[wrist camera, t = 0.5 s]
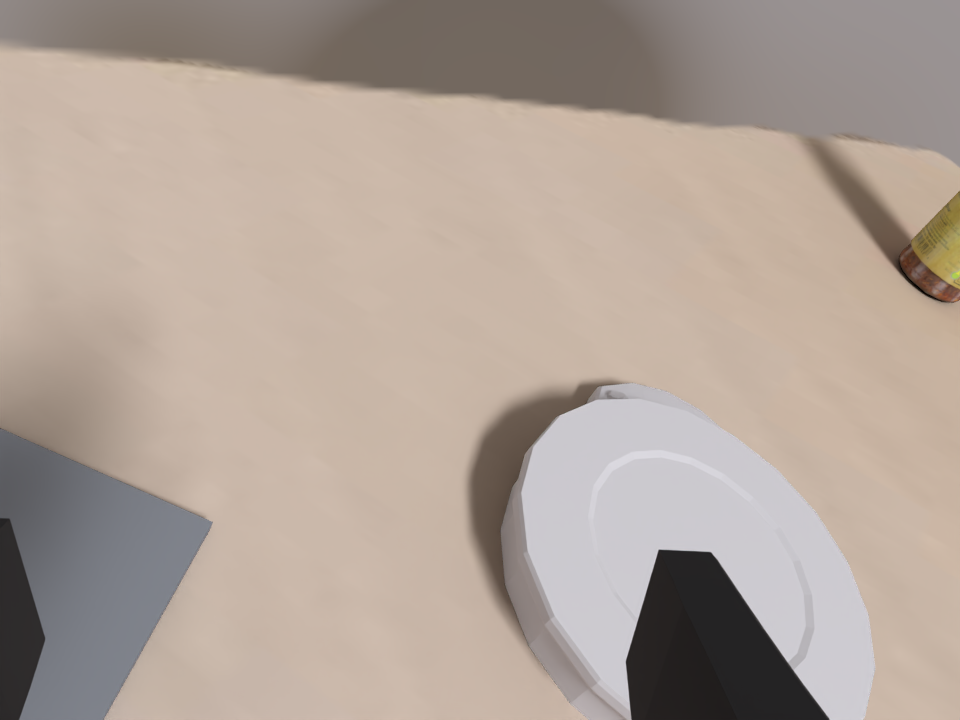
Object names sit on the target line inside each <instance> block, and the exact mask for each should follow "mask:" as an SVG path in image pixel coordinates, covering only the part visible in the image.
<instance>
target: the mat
mask: <svg viewBox="0 0 960 720" xmlns="http://www.w3.org/2000/svg"><path fill="white" fill-rule="evenodd" d="M0 518H9V519H10V521H11V524H12V527H13V531H14V534H15V538H16V541H17V544H18V548H19V551H20V554H21V558H22V561H23V565H24V568H25V571H26V575H27V578H28V581H29V585H30V588H31V592H32V595H33V598H34V602H35V605H36V608H37V612H38V615H39V618H40V622H41V625H42V629H43V632H44V635H45V643H44V646H43V649H42V652H41V655H40V659H39V662H38V665H37V668H36V671H35V674H34V678H33V681H32V684H31V687H30V690H29V693H28V696H27V699H26V702H25V704H24V707H23V710H22V713H21V716H20V719H19V720H104V718H105V716H106V714H107V713H108V711H109V709H110V707H111V705H112V704H113V702H114V700H115V698H116V697H117V695H118V693H119V691H120V689H121V688H122V686H123V684H124V682H125V680H126V679H127V677H128V675H129V673H130V671H131V670H132V668H133V666H134V664H135V663H136V661H137V659H138V657H139V655H140V654H141V652H142V650H143V648H144V646H145V645H146V643H147V641H148V639H149V638H150V636H151V634H152V632H153V630H154V629H155V627H156V625H157V623H158V621H159V620H160V618H161V616H162V614H163V612H164V611H165V609H166V607H167V605H168V604H169V602H170V600H171V598H172V596H173V595H174V593H175V591H176V589H177V587H178V586H179V584H180V582H181V580H182V578H183V577H184V575H185V573H186V571H187V570H188V568H189V566H190V564H191V562H192V561H193V559H194V557H195V555H196V553H197V552H198V550H199V548H200V546H201V545H202V543H203V541H204V539H205V537H206V536H207V534H208V532H209V530H210V528H211V525H212V523H213V522H211V521H209V520H207V519H204V518H202V517H200V516H198V515H195V514H193V513H191V512H188V511H186V510H184V509H182V508H179V507H177V506H175V505H173V504H170V503H168V502H166V501H164V500H161V499H159V498H157V497H155V496H152V495H150V494H148V493H145V492H143V491H141V490H139V489H136V488H134V487H132V486H130V485H127V484H125V483H123V482H121V481H118V480H116V479H114V478H112V477H109V476H107V475H105V474H103V473H100V472H98V471H96V470H93V469H91V468H89V467H87V466H84V465H82V464H80V463H78V462H75V461H73V460H71V459H69V458H66V457H64V456H62V455H60V454H57V453H55V452H53V451H50V450H48V449H46V448H44V447H41V446H39V445H37V444H35V443H32V442H30V441H28V440H26V439H23V438H21V437H19V436H17V435H14V434H12V433H10V432H7V431H5V430H3V429H1V428H0Z"/></svg>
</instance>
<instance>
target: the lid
mask: <svg viewBox="0 0 960 720" xmlns="http://www.w3.org/2000/svg"><path fill="white" fill-rule="evenodd" d="M500 533H501V544H502V556H503V567H504V579H505V587H506V589H507V592H508V594H509V597H510V599H511V602H512V604H513V607H514V610H515V612H516V615H517V617H518V620H519V622H520V625H521V627H522V630H523V633H524V635H525V638H526V640H527V643H528V645H529V647H530V648H531V650H532V651H533V653H534V654H535V655H536V657H537V658H538V660H539V661H540V662H541V664H542V665H543V667H544V668H545V669H546V671H547V672H548V674H549V675H550V676H551V678H552V679H553V681H554V682H555V683H556V685H557V686H558V687H559V689H560V690H561V692H562V693H563V694H564V696H565V697H566V699H567V700H568V701H569V703H570V704H571V705H572V706H573V707H575V708H576V709H577V710H578V711H579V712H580V713H582V714H583V715H584V716H585V717H586V718H587V719H589V720H631V711H630V701H629V691H628V681H627V670H626V658H627V655H628V652H629V648H630V645H631V642H632V638H633V635H634V631H635V628H636V625H637V621H638V618H639V615H640V611H641V608H642V604H643V601H644V598H645V594H646V591H647V587H648V584H649V581H650V577H651V574H652V571H653V567H654V564H655V560H656V557H657V554H658V550H659V549H660V550H681V551H702V552H711V553H712V554H713V555H714V556H715V557H716V559H717V560H718V561H719V563H720V564H721V566H722V567H723V569H724V570H725V572H726V573H727V575H728V576H729V578H730V579H731V581H732V582H733V583H734V585H735V586H736V588H737V589H738V591H739V592H740V594H741V595H742V597H743V598H744V600H745V601H746V603H747V604H748V606H749V607H750V609H751V610H752V612H753V613H754V615H755V616H756V618H757V619H758V620H759V622H760V623H761V625H762V626H763V628H764V629H765V631H766V632H767V633H768V635H769V636H770V638H771V639H772V641H773V642H774V643H775V645H776V646H777V648H778V649H779V651H780V652H781V653H782V655H783V656H784V658H785V659H786V661H787V662H788V663H789V665H790V666H791V668H792V669H793V670H794V672H795V673H796V675H797V676H798V677H799V679H800V680H801V681H802V683H803V684H804V686H805V687H806V688H807V690H808V691H809V692H810V694H811V695H812V696H813V698H814V699H815V700H816V702H817V703H818V704H819V706H820V707H821V708H822V710H823V711H824V712H825V714H826V715H827V716H828V718H829V719H830V720H864V717H865V714H866V709H867V704H868V700H869V695H870V691H871V686H872V681H873V677H874V672H875V662H874V654H873V646H872V639H871V631H870V623H869V615H868V613H867V610H866V607H865V605H864V602H863V600H862V597H861V595H860V592H859V590H858V587H857V584H856V582H855V579H854V577H853V574H852V572H851V569H850V566H849V564H848V562H847V560H846V558H845V557H844V555H843V554H842V552H841V551H840V549H839V547H838V546H837V544H836V543H835V541H834V540H833V538H832V536H831V535H830V533H829V532H828V530H827V529H826V527H825V525H824V524H823V522H822V521H821V519H820V518H819V516H818V514H817V513H816V512H815V511H814V509H813V508H812V507H811V506H810V505H809V504H808V503H807V502H806V501H805V500H804V498H803V497H802V496H801V495H800V494H799V493H798V492H797V491H796V490H795V489H794V487H793V486H792V485H791V484H790V483H789V482H788V481H787V480H786V479H785V478H784V477H783V475H782V474H781V473H780V472H779V471H778V470H777V469H776V468H775V467H773V466H772V465H771V464H769V463H768V462H767V461H766V460H764V459H763V458H762V457H760V456H759V455H758V454H757V453H755V452H754V451H753V450H751V449H750V448H749V447H748V446H746V445H745V444H744V443H743V442H741V441H740V440H739V439H737V438H736V437H735V436H734V435H732V434H730V433H728V432H726V431H724V430H723V429H722V428H721V427H719V426H718V425H717V424H716V423H715V422H714V421H713V420H711V419H710V418H709V417H708V416H707V415H706V414H704V413H703V412H702V411H701V410H700V409H698V408H696V407H694V406H692V405H691V404H689V403H687V402H685V401H683V400H682V399H680V398H678V397H676V396H674V395H672V394H671V393H669V392H667V391H664V390H660V389H656V388H651V387H647V386H643V385H639V384H635V383H625V384H616V385H608V386H599V387H597V389H596V390H595V391H594V392H593V394H592V395H591V396H590V398H589V399H588V401H587V404H585V405H583V406H580V407H578V408H576V409H573V410H571V411H569V412H566V413H564V414H562V415H559V416H557V417H556V418H555V419H554V420H553V421H552V422H551V424H550V425H549V426H548V427H547V428H546V429H545V431H544V432H543V433H542V434H541V435H540V436H539V438H538V439H537V440H536V441H535V442H534V443H533V445H532V446H531V447H530V448H529V449H528V451H527V452H526V453H525V455H524V459H523V463H522V466H521V470H520V474H519V478H518V480H517V481H516V482H515V484H514V485H513V486H512V490H511V493H510V497H509V501H508V504H507V508H506V512H505V515H504V519H503V523H502V526H501V530H500Z"/></svg>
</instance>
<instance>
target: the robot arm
mask: <svg viewBox="0 0 960 720" xmlns="http://www.w3.org/2000/svg"><path fill="white" fill-rule="evenodd" d="M44 643H45V635H44V632H43V629H42V625H41V622H40V618H39V615H38V612H37V608H36V605H35V602H34V598H33V595H32V592H31V588H30V585H29V581H28V578H27V575H26V571H25V568H24V565H23V561H22V558H21V554H20V551H19V548H18V544H17V541H16V538H15V534H14V531H13V527H12V524H11V521H10V519H9V518H0V720H19V719H20V716H21V713H22V710H23V707H24V704H25V702H26V699H27V696H28V693H29V690H30V687H31V684H32V681H33V678H34V674H35V671H36V668H37V665H38V662H39V659H40V655H41V652H42V649H43V646H44ZM626 670H627V681H628V691H629V701H630V711H631V720H830V719H829V718H828V716H827V715H826V714H825V712H824V711H823V710H822V708H821V707H820V706H819V704H818V703H817V702H816V700H815V699H814V698H813V696H812V695H811V694H810V692H809V691H808V690H807V688H806V687H805V686H804V684H803V683H802V681H801V680H800V679H799V677H798V676H797V675H796V673H795V672H794V670H793V669H792V668H791V666H790V665H789V663H788V662H787V661H786V659H785V658H784V656H783V655H782V653H781V652H780V651H779V649H778V648H777V646H776V645H775V643H774V642H773V641H772V639H771V638H770V636H769V635H768V633H767V632H766V631H765V629H764V628H763V626H762V625H761V623H760V622H759V620H758V619H757V618H756V616H755V615H754V613H753V612H752V610H751V609H750V607H749V606H748V604H747V603H746V601H745V600H744V598H743V597H742V595H741V594H740V592H739V591H738V589H737V588H736V586H735V585H734V583H733V582H732V581H731V579H730V578H729V576H728V575H727V573H726V572H725V570H724V569H723V567H722V566H721V564H720V563H719V561H718V560H717V559H716V557H715V556H714V555H713V554H712V553H711V552H702V551H681V550H660V549H659V550H658V554H657V557H656V560H655V564H654V567H653V571H652V574H651V577H650V581H649V584H648V587H647V591H646V594H645V598H644V601H643V604H642V608H641V611H640V615H639V618H638V621H637V625H636V628H635V631H634V635H633V638H632V642H631V645H630V648H629V652H628V655H627V658H626Z"/></svg>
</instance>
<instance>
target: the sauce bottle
mask: <svg viewBox="0 0 960 720" xmlns="http://www.w3.org/2000/svg"><path fill="white" fill-rule="evenodd" d="M899 262H900V266H901V268H902V269H903V271H904V272H905V274H906V275H907V277H908V278H909V279H910V280H911V281H913V282H914V283H915V284H916V285H917V286H918V287H919V288H920V289H922V290H923V291H924V292H925V293H927V294H929V295H931V296H933V297H935V298H937V299H939V300H942V301H945V302H952V303H954V302H956V301H959V300H960V191H959V192H958V193H957V194H956V195H955V196H954V197H953V198H952V199H951V200H950V201H949V202H948V203H947V204H946V205H945V206H944V207H943V208H942V209H941V210H940V211H939V212H938V213H937V214H936V216H935V217H934V218H933V219H932V220H931V221H930V222H929V223H928V224H927V225H926V226H925V227H924V228H923V229H922V230H921V231H920V232H919V233H918V234H917V235H916V236H915V237H914V238H913V239H912V241H911V244H909V245H908V247H906V248H905V249H904V250H903V251H902V252H901V254H900V256H899Z"/></svg>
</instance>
